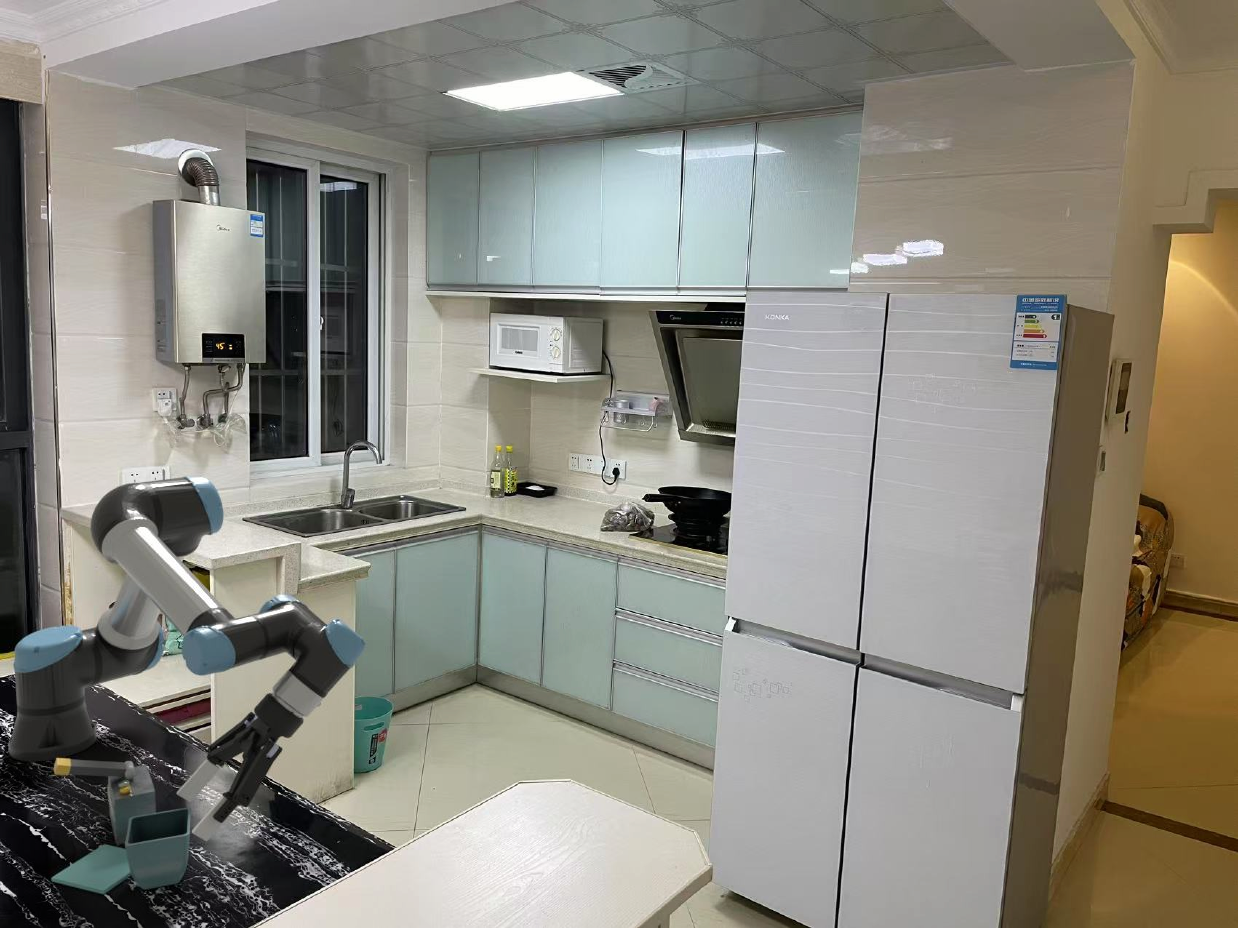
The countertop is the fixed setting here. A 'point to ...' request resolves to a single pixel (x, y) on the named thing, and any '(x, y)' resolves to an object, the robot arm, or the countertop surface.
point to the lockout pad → (97, 870)
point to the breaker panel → (130, 800)
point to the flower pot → (158, 847)
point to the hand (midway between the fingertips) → (190, 816)
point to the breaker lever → (94, 768)
